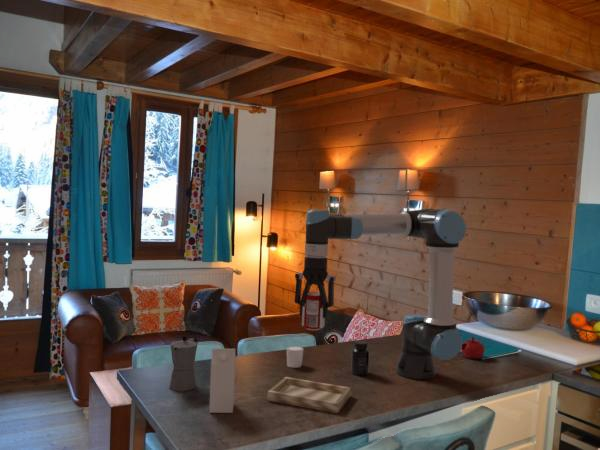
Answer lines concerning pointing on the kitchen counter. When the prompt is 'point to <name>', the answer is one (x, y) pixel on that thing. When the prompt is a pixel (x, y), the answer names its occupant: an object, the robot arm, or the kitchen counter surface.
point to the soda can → (313, 311)
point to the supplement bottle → (360, 359)
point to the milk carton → (222, 380)
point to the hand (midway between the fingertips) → (313, 325)
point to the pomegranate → (472, 349)
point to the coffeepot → (183, 364)
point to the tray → (310, 394)
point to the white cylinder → (294, 356)
